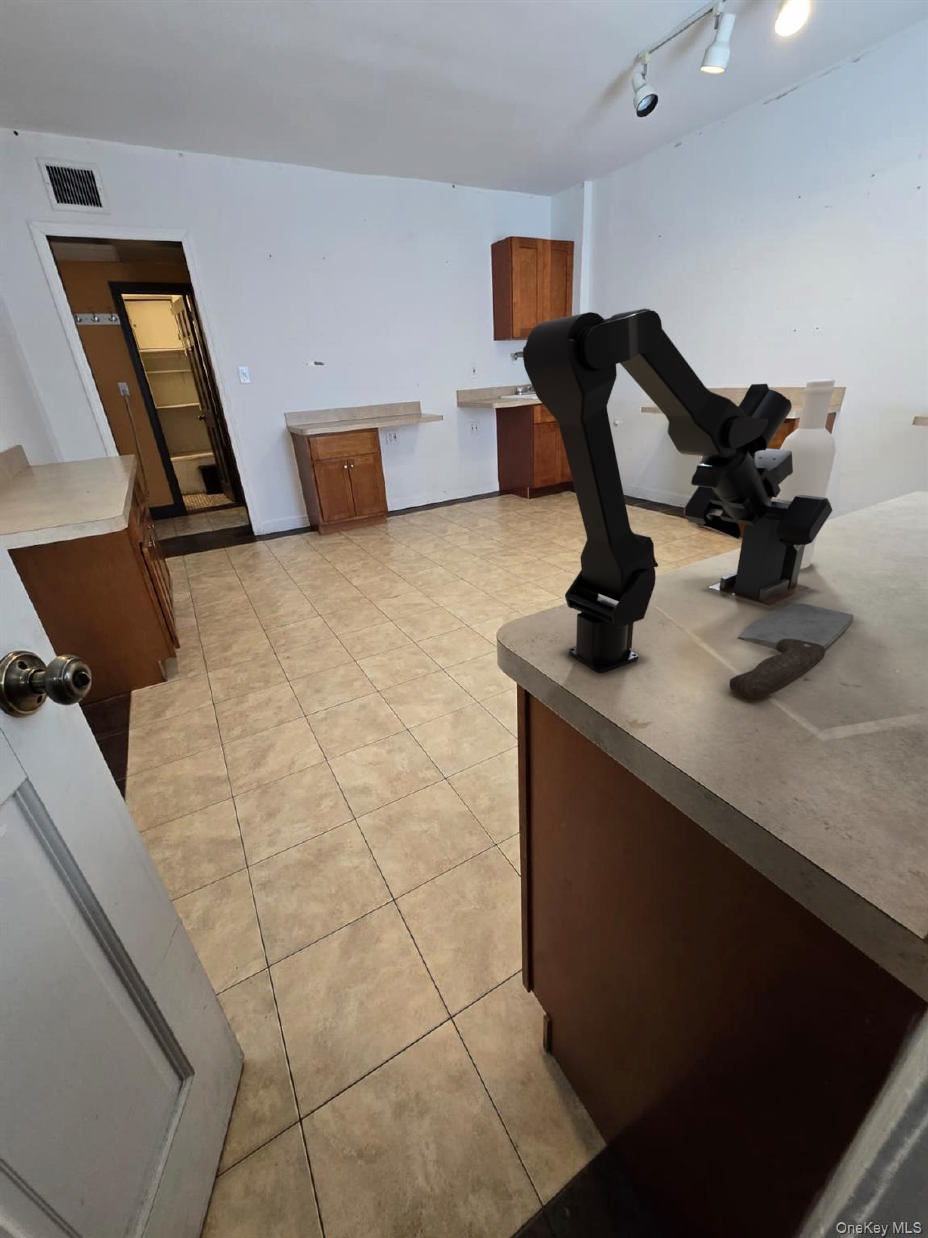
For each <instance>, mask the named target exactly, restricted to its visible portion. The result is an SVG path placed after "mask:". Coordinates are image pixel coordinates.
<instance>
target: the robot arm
mask: <svg viewBox="0 0 928 1238" xmlns="http://www.w3.org/2000/svg"><path fill="white" fill-rule="evenodd" d="M662 323H663V322H662V319H661V316H660V314H659V313H658V312H657V311H655V310H651V309H650V308H639V309H634V310H628V311H624V312H618V313H615V314H613V315H612V316H610V317H608V318H604V317H603V316H602V315H600V314H599V313H596V312H592V311H589V312H583V313H579V314H574V315H569V316H564V317H559V318H554V319H550V320H546V321H542V322H539V323H537V325H536V326H534V327H533V328H532V330H531V331H530V333H529V334H528V335H527V336H528V337H527V339H526V342H525V345H524V346H523V348H522V360H523V366H524V369H525V372H526V375H527V377H528V379H529V381H530V384H531V386H532V388H533V391H534V393H535V395H536V397H537V399H538V400H539V401H540V403H541V404H542V405H543V406H544V407H545V408H546V409H547V411H548V412H549V413H550V414H551V415H552V417H553V418H554V419H555V421H556V422H557V425H558V428H559V431H560V436H561V441H562V445H563V447H564V453H565V456H566V460H567V465H568V468H569V472H570V476H571V480H572V484H573V487H574V491H575V495H576V500H577V503H578V507H579V511H580V515H581V519H582V524H583V527H584V532H585V535H586V541H585V544H584V546H583V548H582V551H581V554H580V558H579V559H580V569H581V570H580V571H579V573H578V574H577V576H576V577H575V579H574V580H573V581H572V583H571V584H570V586H569V588H568V589H567V590H566V592H565V593H564V598H565V601H566V605H567V607H568V608H569V609H573V610H576V611H578V612H579V613H576V638H575V639H576V641H575V642H576V643H575V646H573V647H570V648H568V654H569V655H571V656H572V657H574V658H576V659H577V660H579V661H580V662H582V663H583V664H585V665H587V666H588V667H589V668H591V669H592V670H594V671H596V672H597V673H604V672H607V671H609V670H612V669H615V668H618V667H620V666H624V665H625V664H629V663H632V662H634V661H637V660H639V653H636V652H634V651H633V650H631V649H632V647H633V633H634V624H635V623H636V622H639V621H641V620H644V619H645V617H646V613H647V611H648V607H649V604H650V602H651V598H652V595H653V592H654V589H655V586H656V579H657V576H656V568H658V567H659V563H658V562H657V560H656V558H655V543H654V541H653V539H652V537H651V536H648V535H644V534H639V533H635V532H634V531H633V530H632V527H631V525H630V520H629V514H628V509H627V505H626V500H625V494H624V489H623V484H622V478H621V474H620V469H619V468H620V467H619V464H618V459H617V452H616V448H615V444H614V438H613V432H612V427H611V423H610V418H609V413H608V405H609V404H608V403H609V401H610V398H611V394H612V392H613V389H614V386H615V383H616V380H617V371H618V370H617V365H618V364H620V366H622V368H623V369H624V370H625V371H626V373H628V374H629V376H631V378H632V379H633V380H634V382H636V384H637V385H638V386H639V387H640V388H641V389H642V391H643V392H644V394H646V395H647V396H648V397H649V399H650V400H651V401H652V402H653V403H654V404H655V406H656V407H657V408H658V409H659V410H660V411H661V412H662V413H663V414H664V416H665V417H666V419H667V421H668V423H667V434H668V436H669V438H670V440H671V441H672V444H673V445H674V447H675V449H676V451H678V453H680V454H681V455H686V456H688V455H689V456H697V457H698V456H699V457H702V458H701V459H700V461H699V463H698V464H697V466H696V469H695V471H694V473H693V475H692V477H691V481H690V484H691V486H695V487H697V488H696V489H695V491H694V492H693V494H692V495H691V497H690V498H689V500H688V501H687V503H686V505H685V506H684V507H683V508H684V509H683V515H684V517H685V519H686V520H687V522H688V523H693V524H696V525H697V526H700V527H703V528H706V529H709V530H711V531H715V532H717V533H719V534H723V535H724V536H728V537H730V538H733V539H736V540H739V539H740V538H741V536H742V535H743V533H742V529H741V527H740V524H742V525H745V524H747V525H752V526H754V525H755V524H756V522H757V521H758V519H761V518H767V519H773V520H779V522H778V525H777V530H776V534H777V536H778V537H779V538H780V539H779V542H781V543H782V544H784V545H786V546H787V547H789V548H790V549H792V550H794V551H799V549H800V548H801V546H802V545H807V544H809V543H812V542H813V540H814V539H815V537H816V535H817V536H818V534H819V533H820V531H821V529H822V528H823V526H824V525H825V524H826V522H827V520H828V518H829V517H830V515H831V514H832V512H833V508H832V505H831V502H830V500H829V499H828V497H825V498H823V497H815V496H807V495H798V496H795V497H794V499H793V501H792V502H791V504H789V503H782V502H775V501H771V499H772V497H775V498H776V497H777V496H778V494H779V492H780V491H781V490H780V487H779V484H780V483H781V482H782V481H783V480H784V479H785V478H786V477H787V476H789V475H791V474H792V473H793V463H792V451H790V450H782V449H780V448H779V449H778V448H768V447H769V445H770V444H771V442H772V440H773V439H774V438H775V436H776V434H777V433H778V431H779V430H780V428H781V426H782V425H783V424H784V422H785V421H786V419H787V417H788V416H789V414H790V413H791V411H792V408H793V405H792V401H791V400H790V399H789V398H787V397H786V396H785V395H783V393H780V392H779V391H776V390H773V389H770V388H769V385H768V383H751V385H750V386H749V388H748V389H747V391H746V393H745V394H744V397H743V399H742V400H741V402H740V403H739V404H736V403H735V402H734V401H732V399H730V398H728V397H726V396H723V395H720V394H718V393H716V392H713V391H711V390H710V389H709V388H707V387H706V386H705V384H704V383H703V382H702V380H701V379H700V377H699V376H698V375H697V373H696V372H695V371H694V369H693V367H691V365H690V364H689V362H688V361H687V360H686V358H685V357H684V356H683V354H682V353H681V352H680V350H679V348H677V346H676V345H675V344H674V342H673V341H672V339H671V338H670V337H669V336H668V334H667V333H666V331H665V330H664V329H663V324H662ZM816 538H817V537H816ZM600 595H601V596H600ZM602 596H603V597H602ZM615 601H616V602H615Z"/></svg>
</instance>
